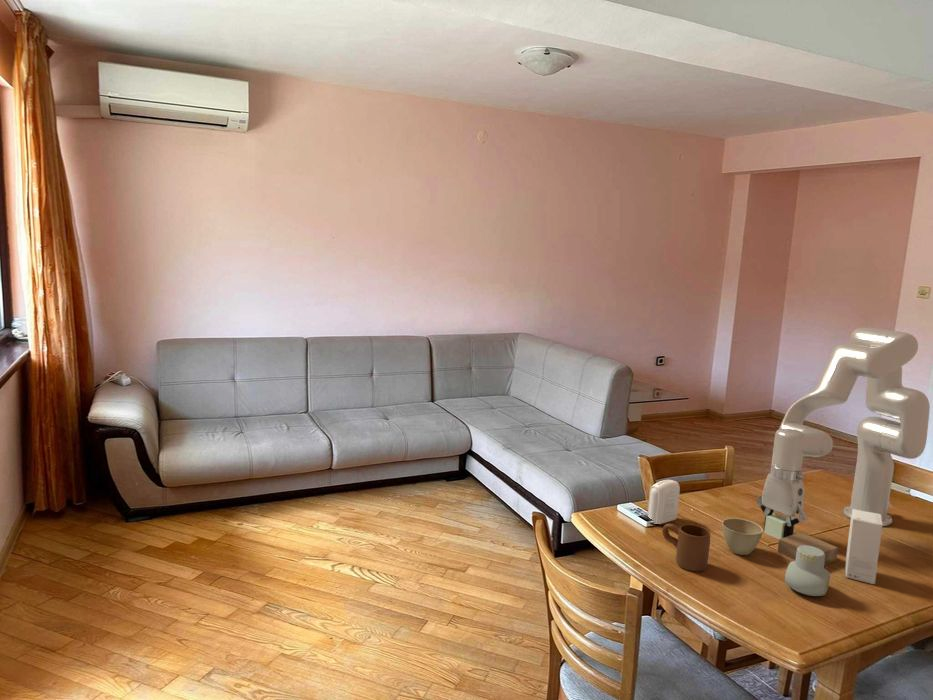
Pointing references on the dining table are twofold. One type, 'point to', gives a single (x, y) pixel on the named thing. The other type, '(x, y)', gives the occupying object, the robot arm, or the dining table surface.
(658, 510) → the photo printer
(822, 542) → the brown flat block
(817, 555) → the air freshener
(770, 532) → the sage cube
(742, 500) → the dining table surface
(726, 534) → the flower pot
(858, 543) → the skincare box
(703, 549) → the mug
